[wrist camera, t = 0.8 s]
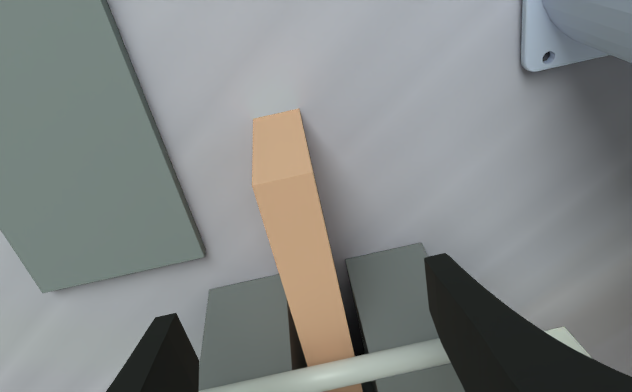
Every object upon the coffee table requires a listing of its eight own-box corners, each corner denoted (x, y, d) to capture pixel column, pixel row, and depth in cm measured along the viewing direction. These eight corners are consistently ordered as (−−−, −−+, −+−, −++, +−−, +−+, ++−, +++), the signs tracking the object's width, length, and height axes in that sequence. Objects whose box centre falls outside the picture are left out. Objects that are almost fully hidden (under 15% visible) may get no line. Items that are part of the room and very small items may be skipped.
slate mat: (50, -141, 15) (42, -142, 15) (205, 249, 24) (204, 257, 23) (-192, -84, 16) (-207, -84, 15) (47, 284, 24) (42, 293, 23)
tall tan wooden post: (298, 107, 21) (312, 172, 16) (344, 308, 27) (365, 402, 22) (253, 117, 21) (252, 185, 16) (309, 316, 27) (321, 411, 22)
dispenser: (420, 231, 24) (478, 345, 18) (434, 369, 30) (482, 494, 24) (205, 279, 25) (186, 409, 18) (258, 408, 30) (258, 542, 24)
